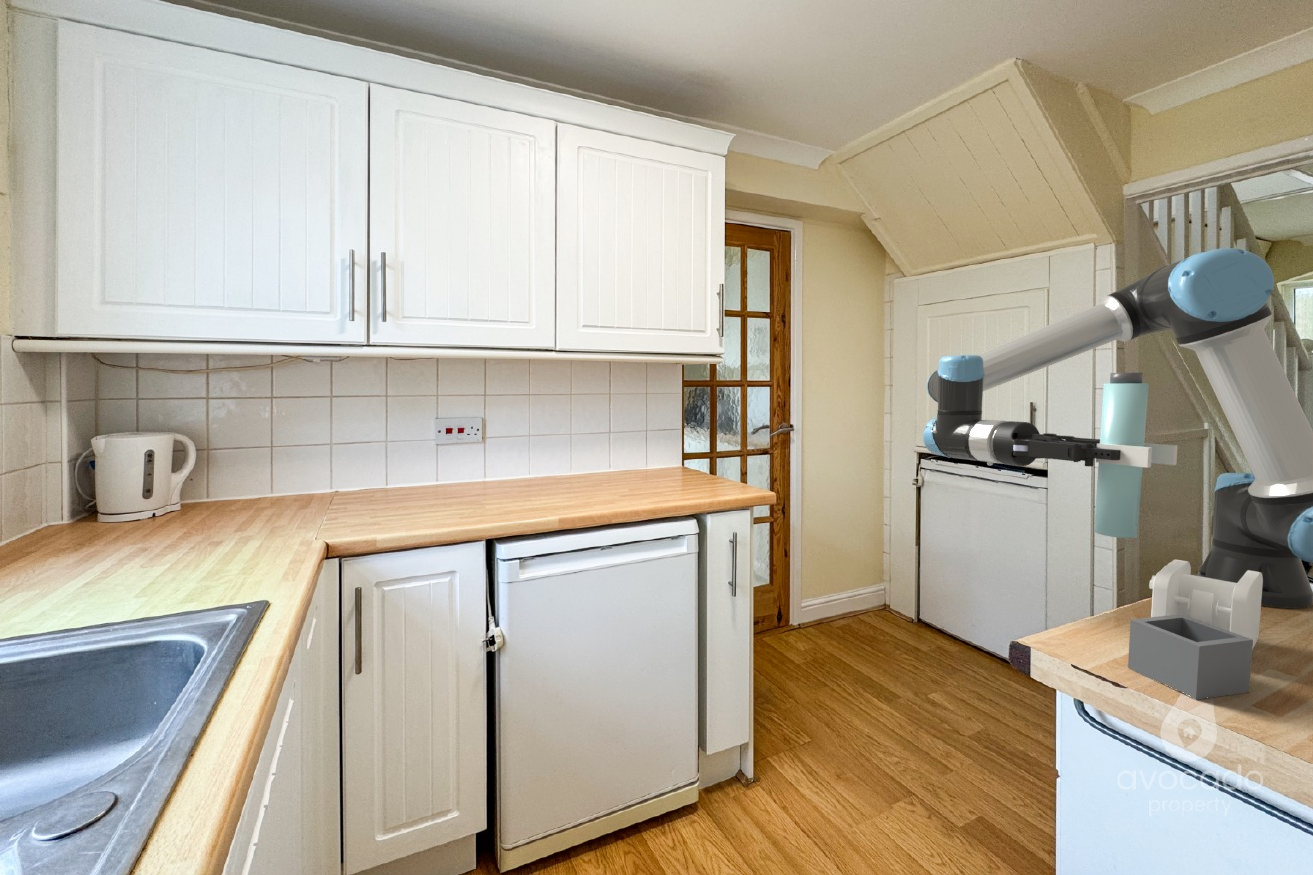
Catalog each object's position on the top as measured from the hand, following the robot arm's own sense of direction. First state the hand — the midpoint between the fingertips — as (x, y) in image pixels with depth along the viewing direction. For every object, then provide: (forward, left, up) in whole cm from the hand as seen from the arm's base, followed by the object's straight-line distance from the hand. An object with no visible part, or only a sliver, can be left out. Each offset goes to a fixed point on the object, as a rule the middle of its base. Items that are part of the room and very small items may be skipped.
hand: (1162, 456), depth 79 cm
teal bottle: (+1, -5, -12) cm, 13 cm away
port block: (-1, +4, -30) cm, 30 cm away
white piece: (-14, -4, -30) cm, 34 cm away
